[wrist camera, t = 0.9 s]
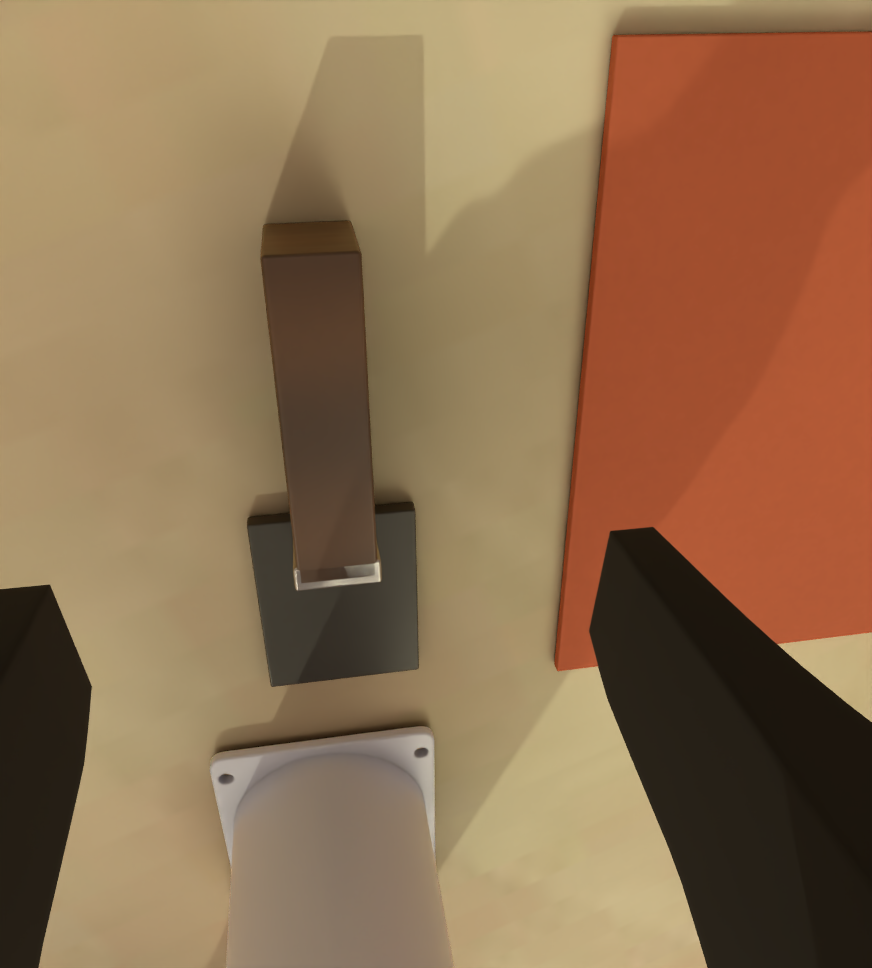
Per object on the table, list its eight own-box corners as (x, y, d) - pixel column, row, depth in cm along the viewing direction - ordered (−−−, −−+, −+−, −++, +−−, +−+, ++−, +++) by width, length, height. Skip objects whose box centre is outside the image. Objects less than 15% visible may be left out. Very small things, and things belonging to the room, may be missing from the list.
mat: (880, 623, 31) (887, 630, 31) (553, 664, 30) (557, 671, 29) (1092, 28, 21) (1105, 29, 21) (611, 34, 19) (617, 35, 19)
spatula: (417, 659, 28) (430, 725, 26) (271, 677, 28) (270, 745, 25) (406, 217, 21) (424, 248, 18) (204, 226, 20) (193, 259, 17)
